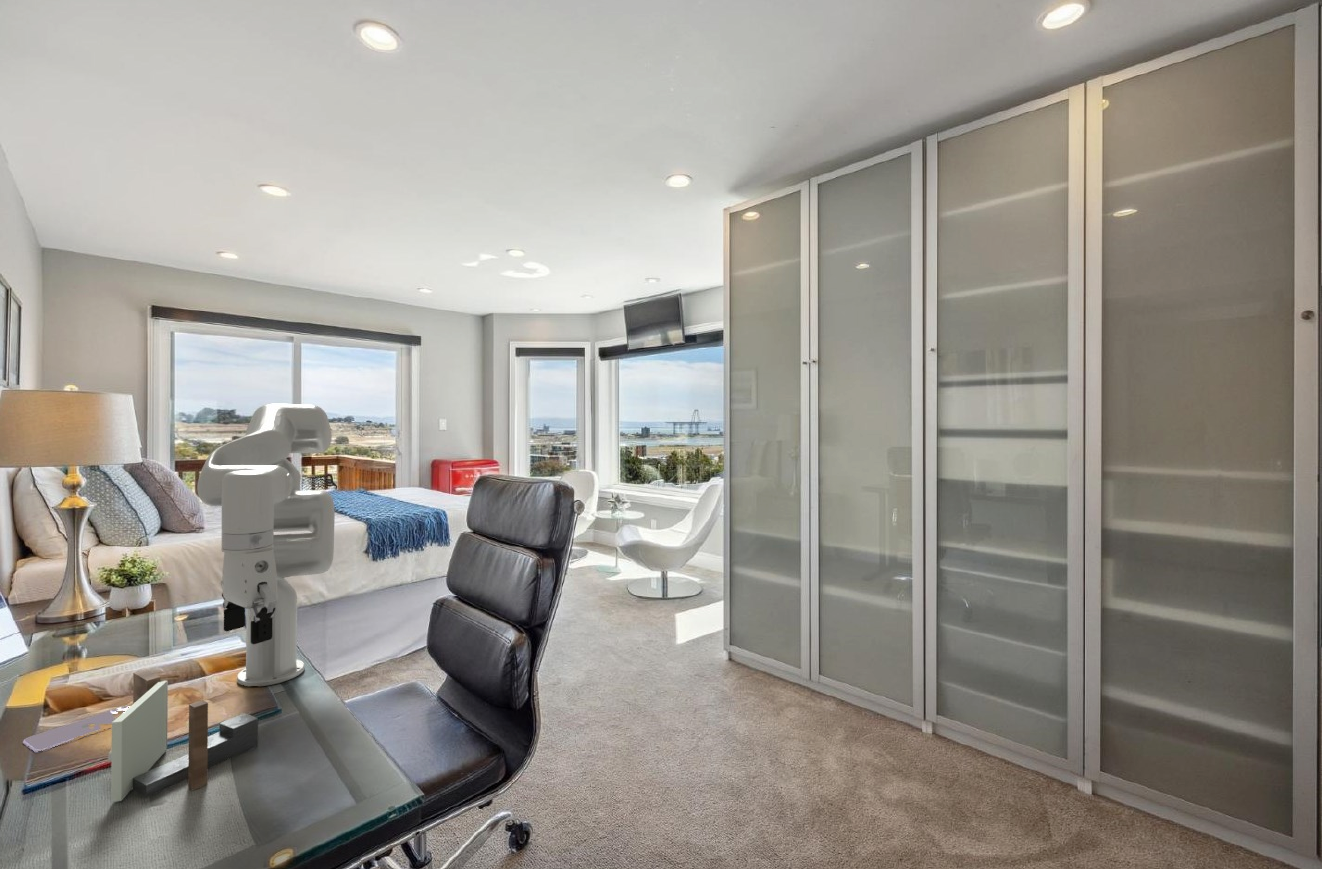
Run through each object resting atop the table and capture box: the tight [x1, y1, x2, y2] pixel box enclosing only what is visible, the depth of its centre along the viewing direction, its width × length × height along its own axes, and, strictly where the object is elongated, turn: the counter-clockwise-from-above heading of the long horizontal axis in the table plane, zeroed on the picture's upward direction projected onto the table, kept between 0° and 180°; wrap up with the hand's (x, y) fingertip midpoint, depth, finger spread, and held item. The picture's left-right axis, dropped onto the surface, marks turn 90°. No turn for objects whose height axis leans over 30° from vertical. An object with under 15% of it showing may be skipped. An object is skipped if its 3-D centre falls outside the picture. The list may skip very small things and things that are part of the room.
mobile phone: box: [22, 705, 131, 753], centre depth 107 cm, size 8×1×15 cm
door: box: [107, 680, 169, 803], centre depth 93 cm, size 15×2×12 cm, turn 19°
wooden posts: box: [132, 668, 209, 791], centre depth 96 cm, size 23×2×13 cm, turn 60°
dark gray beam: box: [132, 712, 259, 799], centre depth 96 cm, size 16×4×5 cm, turn 155°
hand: (247, 635), depth 103 cm, fingers open, 9 cm apart
